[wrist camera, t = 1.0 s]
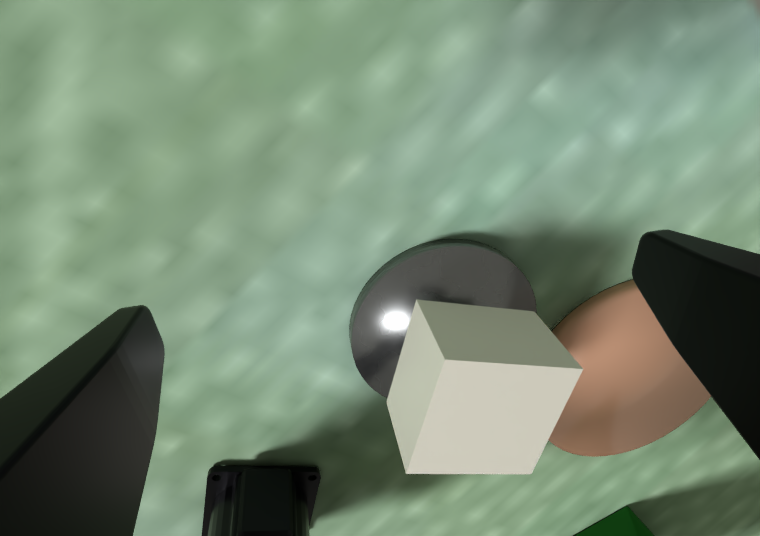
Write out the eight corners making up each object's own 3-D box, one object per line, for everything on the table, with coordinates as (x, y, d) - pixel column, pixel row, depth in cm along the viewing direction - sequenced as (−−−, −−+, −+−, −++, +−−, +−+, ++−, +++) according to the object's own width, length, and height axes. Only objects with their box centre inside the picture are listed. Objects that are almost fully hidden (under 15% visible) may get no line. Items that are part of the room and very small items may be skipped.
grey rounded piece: (494, 398, 30) (545, 489, 24) (333, 390, 27) (348, 490, 21) (554, 252, 25) (633, 320, 20) (371, 226, 23) (401, 296, 17)
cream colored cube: (494, 406, 26) (531, 474, 22) (386, 402, 24) (406, 473, 20) (534, 311, 23) (583, 368, 19) (416, 299, 22) (445, 359, 18)
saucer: (660, 444, 35) (672, 457, 34) (498, 440, 32) (506, 455, 31) (758, 288, 29) (776, 298, 28) (575, 263, 26) (587, 274, 25)
